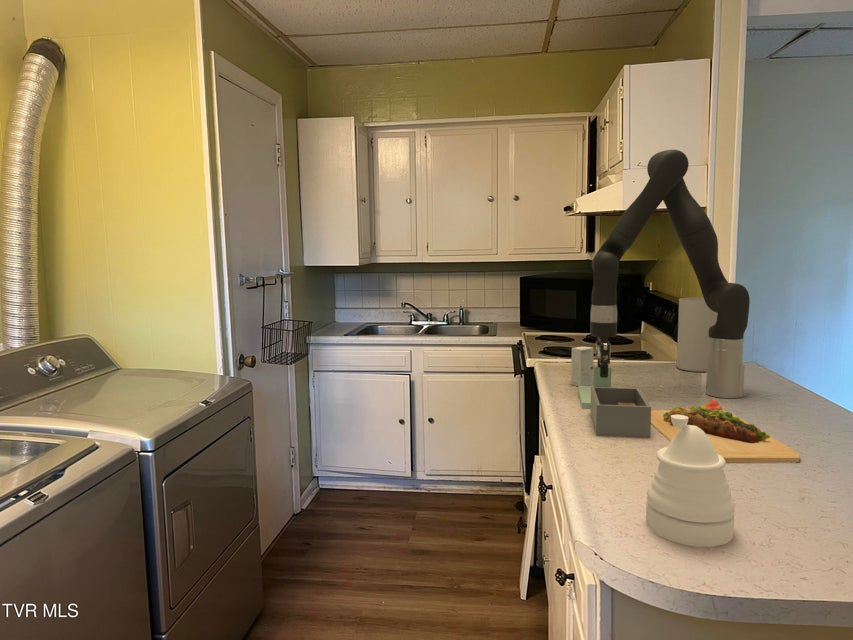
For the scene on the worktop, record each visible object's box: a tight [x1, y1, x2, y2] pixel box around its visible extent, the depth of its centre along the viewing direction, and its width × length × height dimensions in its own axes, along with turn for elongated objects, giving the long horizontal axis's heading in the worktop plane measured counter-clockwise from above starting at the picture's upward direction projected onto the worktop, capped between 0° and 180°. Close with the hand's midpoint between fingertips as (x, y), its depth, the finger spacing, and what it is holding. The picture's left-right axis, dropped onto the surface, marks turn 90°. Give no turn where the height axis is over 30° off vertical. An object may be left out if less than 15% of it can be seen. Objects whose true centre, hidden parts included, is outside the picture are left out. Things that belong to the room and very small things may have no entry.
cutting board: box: [651, 398, 801, 464], centre depth 138 cm, size 35×23×8 cm
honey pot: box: [645, 415, 736, 548], centre depth 93 cm, size 13×13×18 cm
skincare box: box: [570, 346, 595, 387], centre depth 189 cm, size 6×4×12 cm
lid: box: [577, 366, 627, 410], centre depth 167 cm, size 14×20×8 cm
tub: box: [589, 386, 652, 439], centre depth 144 cm, size 12×18×8 cm, turn 169°
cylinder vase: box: [676, 297, 717, 373], centre depth 208 cm, size 12×12×25 cm
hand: (602, 374), depth 175 cm, fingers open, 8 cm apart
